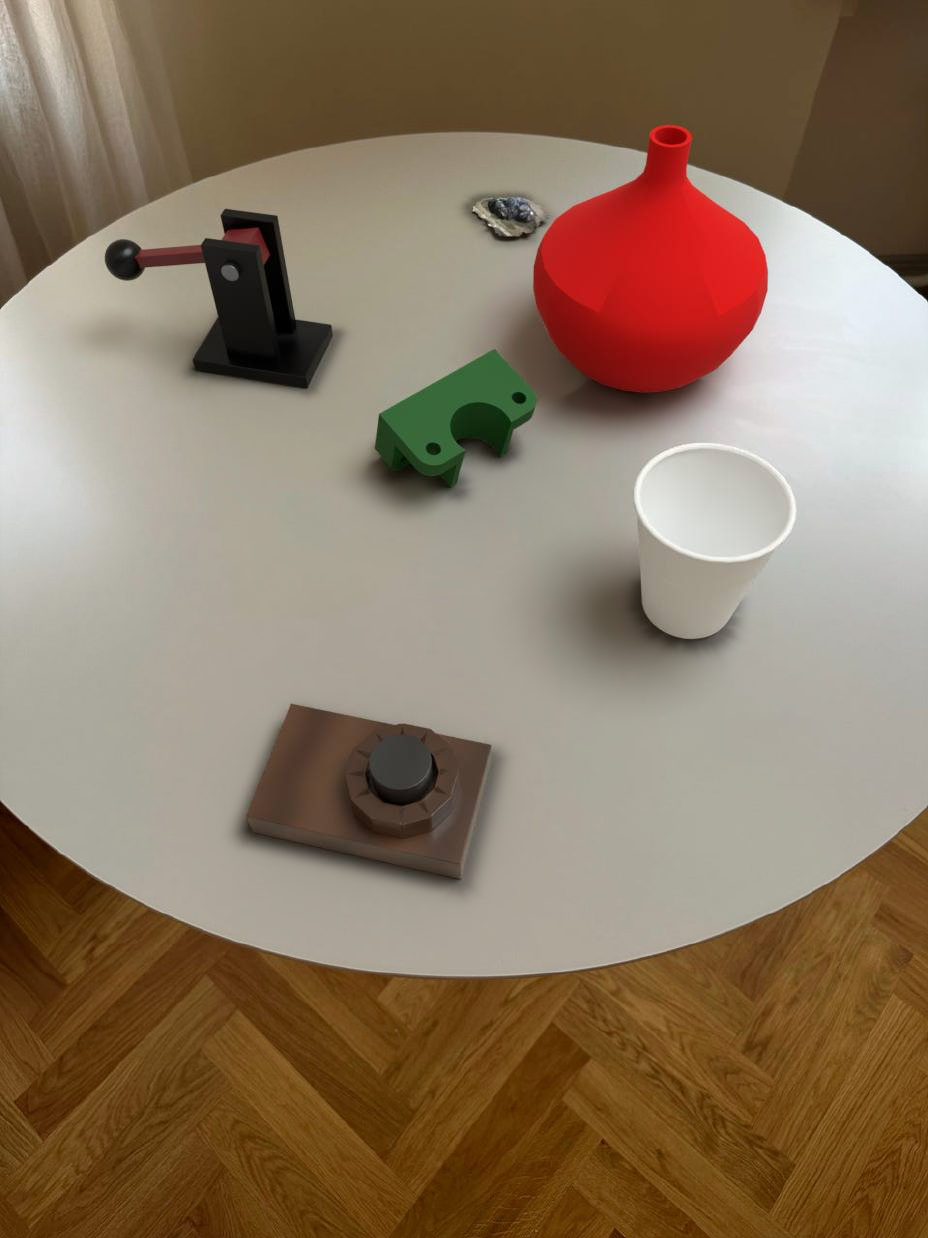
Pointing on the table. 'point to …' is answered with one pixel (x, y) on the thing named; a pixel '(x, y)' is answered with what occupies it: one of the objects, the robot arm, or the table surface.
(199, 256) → the ball knob lever
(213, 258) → the black bracket
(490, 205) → the grey flat irregular piece
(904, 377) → the table surface
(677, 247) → the vase
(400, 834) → the button block
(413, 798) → the button
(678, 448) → the cup
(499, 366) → the clamp
